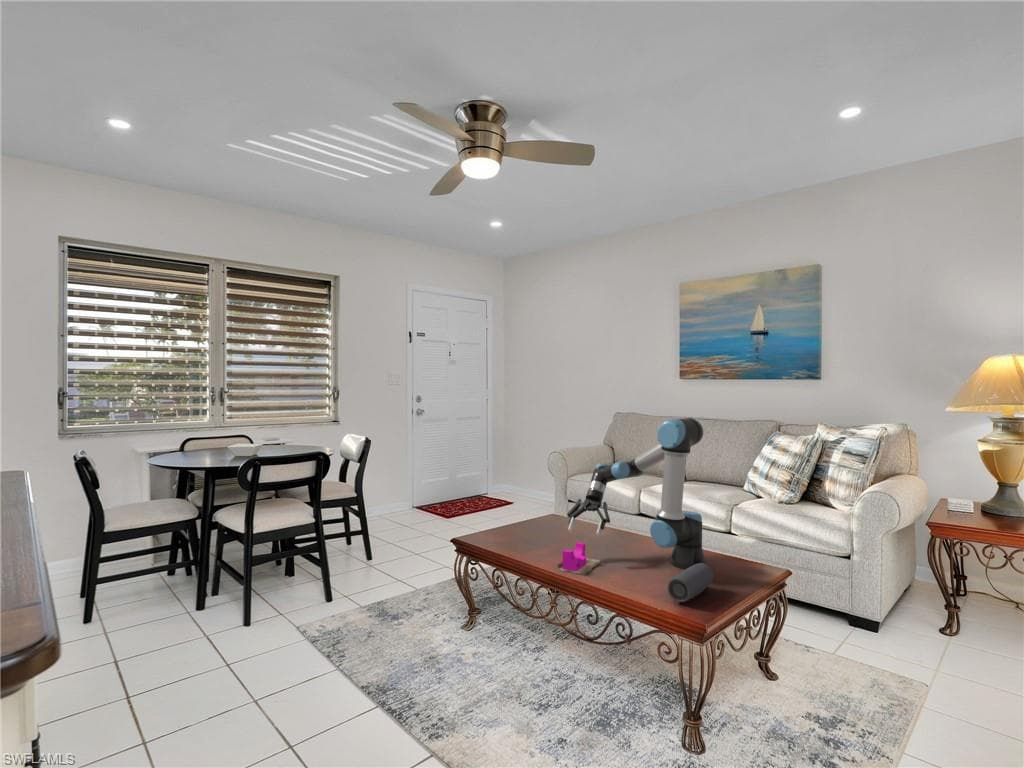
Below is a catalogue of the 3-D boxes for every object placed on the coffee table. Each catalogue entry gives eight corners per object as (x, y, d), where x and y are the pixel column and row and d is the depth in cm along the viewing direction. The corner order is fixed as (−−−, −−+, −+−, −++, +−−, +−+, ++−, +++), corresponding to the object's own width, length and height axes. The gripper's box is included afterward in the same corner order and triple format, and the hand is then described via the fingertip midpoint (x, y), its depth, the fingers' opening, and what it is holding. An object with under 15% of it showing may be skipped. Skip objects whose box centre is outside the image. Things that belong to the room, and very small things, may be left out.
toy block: (576, 571, 225) (576, 553, 225) (562, 568, 228) (562, 551, 228) (590, 561, 238) (590, 544, 238) (577, 559, 241) (577, 542, 241)
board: (600, 562, 239) (600, 557, 239) (583, 575, 224) (583, 569, 224) (575, 558, 245) (575, 552, 245) (557, 569, 230) (557, 564, 230)
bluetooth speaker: (691, 584, 214) (691, 559, 214) (714, 590, 208) (714, 564, 208) (665, 601, 197) (665, 574, 197) (690, 608, 190) (690, 580, 190)
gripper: (623, 500, 250) (612, 541, 237) (573, 495, 262) (560, 533, 249) (619, 490, 245) (608, 532, 232) (568, 486, 257) (555, 525, 244)
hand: (583, 533), depth 240 cm, fingers open, 13 cm apart
